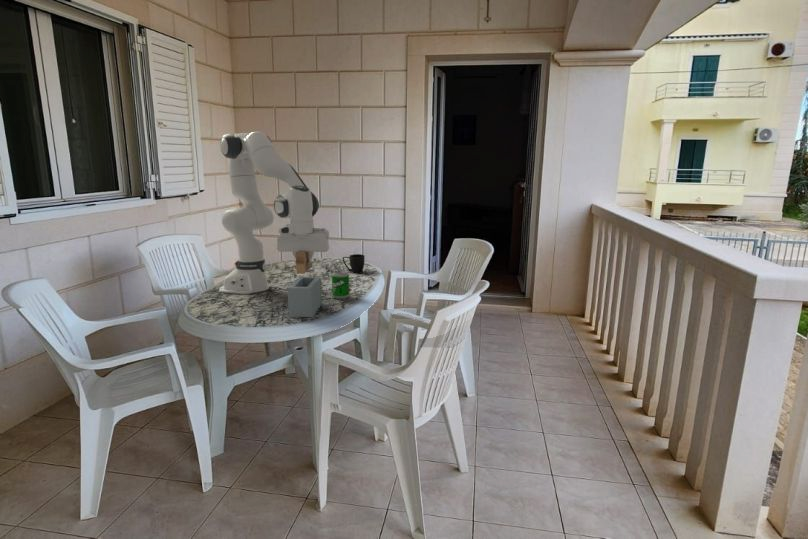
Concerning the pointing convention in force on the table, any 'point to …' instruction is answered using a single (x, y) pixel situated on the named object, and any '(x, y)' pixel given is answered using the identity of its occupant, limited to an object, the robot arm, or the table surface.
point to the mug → (356, 263)
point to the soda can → (340, 284)
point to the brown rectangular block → (302, 262)
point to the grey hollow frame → (304, 296)
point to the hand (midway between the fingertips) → (304, 262)
